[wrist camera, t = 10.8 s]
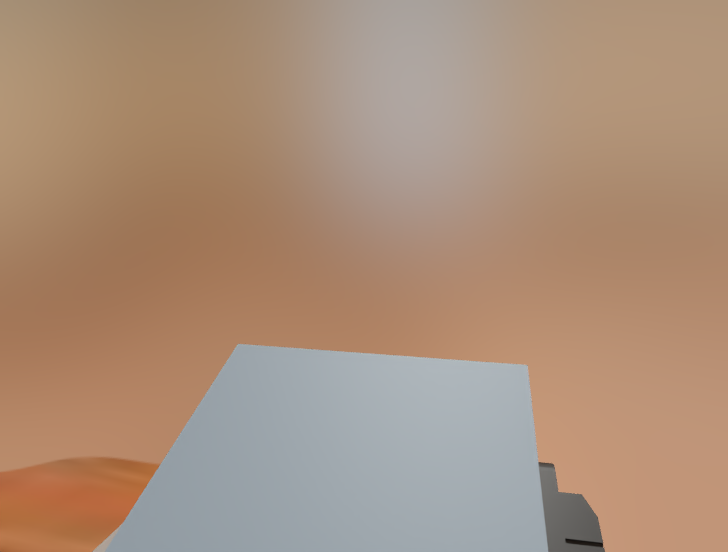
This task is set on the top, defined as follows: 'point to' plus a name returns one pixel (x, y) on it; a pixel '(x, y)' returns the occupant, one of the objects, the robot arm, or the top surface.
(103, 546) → the die
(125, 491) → the top surface
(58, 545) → the top surface
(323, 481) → the gray block
